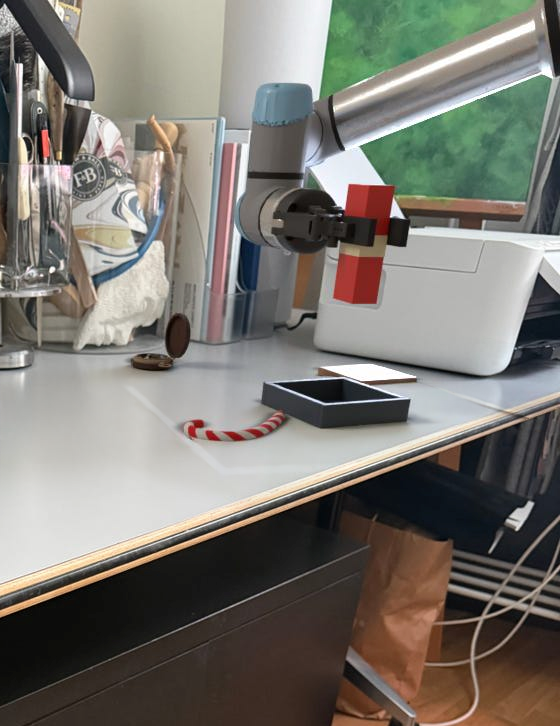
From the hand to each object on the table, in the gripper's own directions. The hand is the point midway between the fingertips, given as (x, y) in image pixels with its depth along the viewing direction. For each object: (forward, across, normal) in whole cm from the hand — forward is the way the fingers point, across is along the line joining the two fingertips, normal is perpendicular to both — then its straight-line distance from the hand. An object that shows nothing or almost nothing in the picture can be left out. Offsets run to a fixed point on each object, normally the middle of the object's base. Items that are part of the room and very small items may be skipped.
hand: (388, 233), depth 99 cm
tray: (-3, +2, -20) cm, 20 cm away
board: (-22, -12, -20) cm, 32 cm away
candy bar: (-5, 0, -8) cm, 9 cm away
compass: (-33, +15, -20) cm, 41 cm away
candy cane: (+3, +16, -20) cm, 26 cm away
